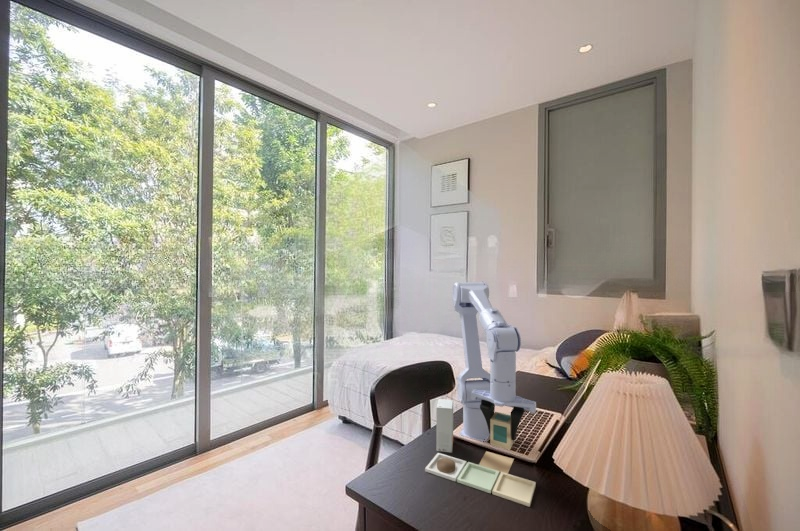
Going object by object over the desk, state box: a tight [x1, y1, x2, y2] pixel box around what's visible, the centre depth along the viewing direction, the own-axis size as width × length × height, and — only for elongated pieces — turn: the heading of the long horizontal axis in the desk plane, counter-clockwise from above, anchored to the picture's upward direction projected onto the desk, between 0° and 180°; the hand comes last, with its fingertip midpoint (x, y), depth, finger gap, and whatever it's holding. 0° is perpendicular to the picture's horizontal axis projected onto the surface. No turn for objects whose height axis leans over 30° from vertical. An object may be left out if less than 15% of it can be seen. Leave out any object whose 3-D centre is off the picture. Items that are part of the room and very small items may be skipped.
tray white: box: [424, 452, 468, 482], centre depth 83 cm, size 8×8×1 cm
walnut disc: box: [437, 458, 455, 473], centre depth 83 cm, size 4×4×1 cm
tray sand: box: [491, 472, 537, 508], centre depth 75 cm, size 8×8×1 cm
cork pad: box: [478, 450, 515, 474], centre depth 85 cm, size 7×7×1 cm
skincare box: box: [435, 398, 454, 453], centre depth 93 cm, size 6×4×12 cm
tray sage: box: [456, 461, 500, 494], centre depth 79 cm, size 8×8×1 cm
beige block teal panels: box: [489, 411, 515, 451], centre depth 81 cm, size 5×4×6 cm
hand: (502, 435), depth 82 cm, fingers closed on beige block teal panels, 4 cm apart
